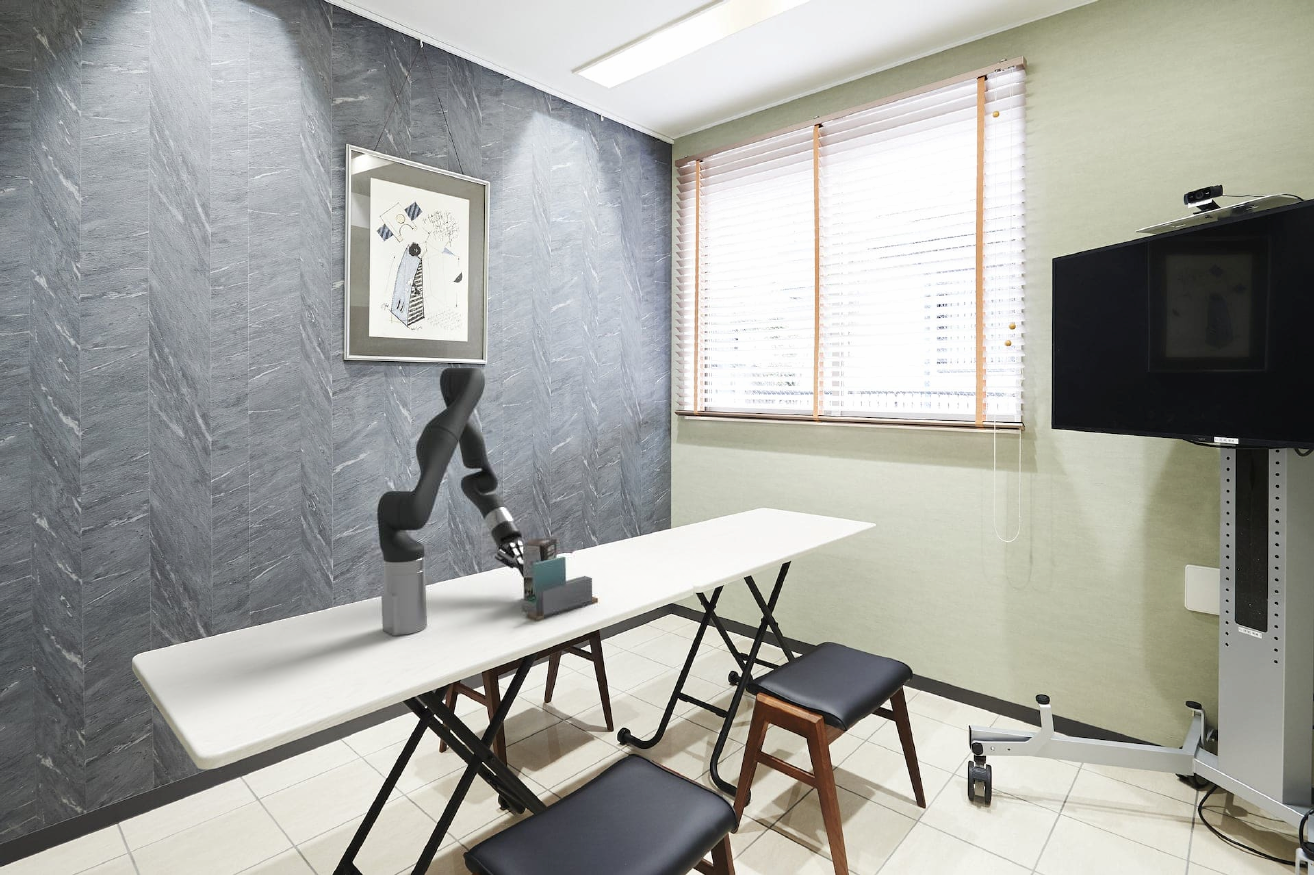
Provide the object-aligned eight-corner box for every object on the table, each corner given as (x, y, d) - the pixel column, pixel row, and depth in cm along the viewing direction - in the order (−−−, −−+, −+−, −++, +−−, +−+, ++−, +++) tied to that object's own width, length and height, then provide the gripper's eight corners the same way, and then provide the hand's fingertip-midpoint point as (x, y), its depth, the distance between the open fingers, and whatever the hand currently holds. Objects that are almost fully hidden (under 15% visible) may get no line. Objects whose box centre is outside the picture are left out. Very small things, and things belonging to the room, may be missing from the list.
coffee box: (545, 605, 172) (544, 545, 171) (523, 604, 174) (521, 544, 173) (558, 595, 181) (557, 538, 180) (537, 594, 183) (535, 537, 182)
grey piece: (537, 621, 160) (536, 593, 160) (514, 612, 167) (514, 586, 167) (598, 602, 175) (597, 576, 175) (575, 594, 181) (574, 570, 181)
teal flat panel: (527, 604, 167) (526, 566, 166) (524, 603, 168) (523, 565, 167) (566, 593, 176) (565, 557, 176) (563, 592, 177) (562, 556, 176)
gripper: (487, 522, 180) (514, 574, 172) (526, 516, 190) (554, 564, 182) (477, 539, 184) (503, 590, 176) (516, 531, 194) (542, 579, 186)
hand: (529, 577), depth 179 cm, fingers closed
